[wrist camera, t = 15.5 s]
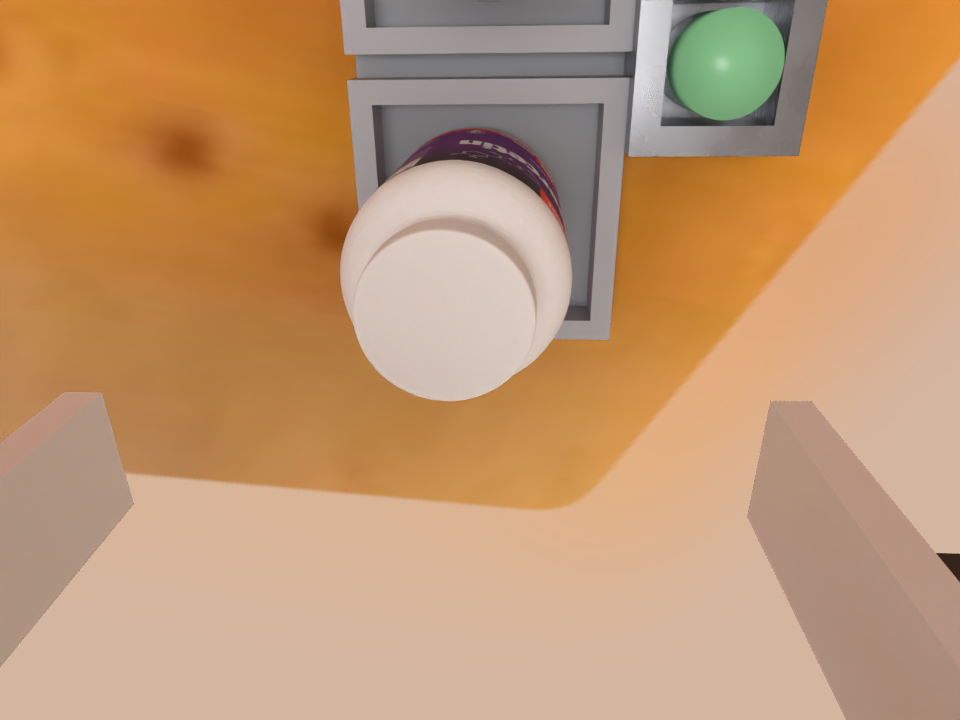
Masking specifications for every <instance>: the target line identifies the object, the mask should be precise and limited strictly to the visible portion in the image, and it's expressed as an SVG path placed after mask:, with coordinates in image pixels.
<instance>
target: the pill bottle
mask: <svg viewBox="0 0 960 720" xmlns="http://www.w3.org/2000/svg"><path fill="white" fill-rule="evenodd" d="M340 281H341V290H342V294H343V299H344V302H345V306H346V309H347V312H348V314H349V317H350V319H351V321H352V323H353V325H354V328H355V333H356V336H357V339H358V342H359V344H360V346H361V348H362V351H363V352H364V354H365V355H366V357H367V358H368V360H369V362H370V363H371V364H372V365H373V367H374V368H375V369H376V370H377V371H378V372H379V373H380V374H381V375H382V376H383V377H384V378H386V379H387V380H388V381H389V382H391V383H392V384H394V385H395V386H397V387H399V388H400V389H402V390H404V391H406V392H408V393H411V394H413V395H416V396H419V397H422V398H426V399H431V400H439V401H459V400H466V399H471V398H474V397H478V396H481V395H483V394H486V393H488V392H490V391H492V390H494V389H496V388H498V387H499V386H500V385H502V384H503V383H505V382H506V381H507V380H508V379H509V378H510V377H511V376H512V375H514V374H516V373H518V372H519V371H521V370H522V369H524V368H525V367H527V366H528V365H530V364H531V363H532V362H533V361H534V360H536V359H537V358H538V356H539V355H540V354H541V353H542V352H543V351H544V350H545V349H546V348H547V346H548V345H549V344H550V342H551V341H552V340H553V338H554V337H555V335H556V334H557V332H558V330H559V328H560V327H561V325H562V323H563V320H564V318H565V316H566V313H567V309H568V306H569V301H570V296H571V288H572V265H571V257H570V251H569V247H568V243H567V238H566V234H565V228H564V224H563V219H562V213H561V207H560V202H559V197H558V193H557V190H556V187H555V184H554V182H553V179H552V177H551V175H550V173H549V171H548V170H547V168H546V166H545V165H544V163H543V162H542V161H541V159H540V158H539V157H538V156H537V155H536V154H535V153H534V152H533V151H532V150H531V149H530V148H529V147H528V146H526V145H525V144H524V143H522V142H521V141H519V140H518V139H516V138H514V137H512V136H510V135H508V134H506V133H503V132H500V131H497V130H493V129H488V128H460V129H456V130H452V131H448V132H445V133H443V134H440V135H438V136H436V137H434V138H433V139H431V140H429V141H428V142H426V143H425V144H424V145H422V146H421V147H420V148H418V149H417V150H416V151H415V152H414V153H413V154H412V155H411V156H410V157H409V158H408V159H407V160H406V161H405V162H404V163H403V164H402V165H401V166H400V167H399V168H398V169H397V170H396V171H395V173H394V174H393V175H392V176H391V177H390V178H389V179H388V180H386V181H385V182H384V183H383V184H382V185H381V186H380V187H379V188H378V189H377V190H376V191H375V192H374V193H373V194H372V195H371V196H370V197H369V198H368V200H367V201H366V202H365V203H364V204H363V206H362V207H361V209H360V210H359V212H358V213H357V215H356V217H355V218H354V220H353V222H352V224H351V226H350V228H349V231H348V233H347V235H346V238H345V242H344V246H343V249H342V255H341V263H340Z"/></svg>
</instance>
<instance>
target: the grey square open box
mask: <svg viewBox="0 0 960 720" xmlns="http://www.w3.org/2000/svg"><path fill="white" fill-rule="evenodd" d="M827 1H828V0H636V7H635V20H634V33H633V45H632V51H631V52H625V58H624V72H623V75H624V76H626V77H629V78H630V84H629V96H628V109H627V122H626V134H625V147H624V152H625V153H626V154H627V155H628V157H648V156H799V151H800V146H801V140H802V135H803V130H804V124H805V119H806V114H807V108H808V103H809V98H810V92H811V87H812V82H813V76H814V71H815V66H816V60H817V55H818V50H819V44H820V39H821V34H822V28H823V23H824V18H825V12H826V7H827ZM734 7H746V8H751V9H754V10H757V11H759V12H761V13H763V14H765V15H766V16H767V17H768V18H770V19H771V20H772V21H773V23H774V24H775V25H776V27H777V28H778V30H779V32H780V34H781V36H782V40H783V43H784V50H785V60H784V67H783V71H782V75H781V77H780V80H779V82H778V84H777V86H776V88H775V90H774V91H773V93H772V94H771V95H770V97H769V98H768V99H767V100H766V101H765V102H764V103H763V104H762V105H761V106H760V107H758V108H757V109H756V110H754V111H753V112H751V113H749V114H747V115H745V116H743V117H740V118H737V119H732V120H714V119H710V118H707V117H704V116H702V115H699V114H697V113H695V112H692V111H690V110H687V109H685V108H683V107H681V106H679V105H677V104H676V103H674V102H673V101H672V100H671V99H670V98H669V97H668V95H667V94H666V93H665V91H664V85H665V75H666V65H667V55H668V45H669V35H670V33H671V32H672V31H673V30H674V28H675V27H676V26H677V25H679V24H680V23H681V22H682V21H684V20H685V19H687V18H688V17H690V16H692V15H695V14H697V13H701V12H706V11H713V10H720V9H726V8H734Z"/></svg>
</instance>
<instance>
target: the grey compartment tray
mask: <svg viewBox="0 0 960 720" xmlns="http://www.w3.org/2000/svg"><path fill="white" fill-rule="evenodd" d="M635 7H636V0H496V1H476V0H340V8H341V20H342V31H343V42H344V53H345V55H355V60H356V72H357V78H354V79H350V80H347V87H348V98H349V110H350V121H351V132H352V143H353V155H354V166H355V177H356V188H357V200H358V211H359V210H360V209H361V207H362V206H363V204H364V203H365V202H366V201H367V200H368V198H369V197H370V196H371V195H372V194H373V193H374V192H375V191H376V190H377V189H378V188H379V187H380V186H381V185H382V184H383V183H384V182H385V181H386V180H388V179H389V178H390V177H391V176H392V175H393V174H394V173H395V171H396V170H397V169H398V168H399V167H400V166H401V165H402V164H403V163H404V162H405V161H406V160H407V159H408V158H409V157H410V156H411V155H412V154H413V153H414V152H415V151H416V150H417V149H418V148H420V147H421V146H422V145H424V144H425V143H426V142H428V141H429V140H431V139H433V138H434V137H436V136H438V135H440V134H443V133H445V132H448V131H452V130H456V129H460V128H488V129H493V130H497V131H500V132H503V133H506V134H508V135H510V136H512V137H514V138H516V139H518V140H519V141H521V142H522V143H524V144H525V145H526V146H528V147H529V148H530V149H531V150H532V151H533V152H534V153H535V154H536V155H537V156H538V157H539V158H540V159H541V161H542V162H543V163H544V165H545V166H546V168H547V170H548V171H549V173H550V175H551V177H552V179H553V182H554V184H555V187H556V190H557V193H558V197H559V202H560V207H561V213H562V219H563V224H564V228H565V234H566V238H567V243H568V247H569V251H570V257H571V265H572V288H571V296H570V301H569V306H568V309H567V313H566V316H565V318H564V320H563V323H562V325H561V327H560V328H559V330H558V332H557V334H556V335H555V337H554V338H553V339H580V340H609V338H610V325H611V312H612V299H613V287H614V274H615V261H616V249H617V236H618V223H619V211H620V198H621V185H622V172H623V160H624V147H625V134H626V122H627V109H628V96H629V84H630V78H629V77H626V76H624V75H623V72H624V58H625V52H631V51H632V45H633V33H634V20H635Z"/></svg>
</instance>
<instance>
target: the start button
mask: <svg viewBox="0 0 960 720" xmlns="http://www.w3.org/2000/svg"><path fill="white" fill-rule="evenodd" d="M784 60H785V50H784V43H783V40H782V36H781V34H780V32H779V30H778V28H777V27H776V25H775V24H774V23H773V21H772V20H771V19H770V18H768V17H767V16H766V15H765V14H763V13H761V12H759V11H757V10H754V9H751V8H746V7H734V8H726V9H720V10H713V11H706V12H701V13H697V14H695V15H692V16H690V17H688V18H687V19H685V20H684V21H682V22H681V23H680V24H679V25H677V26H676V27H675V28H674V30H673V31H672V32H671V33H670V35H669V45H668V55H667V65H666V75H665V85H664V91H665V93H666V94H667V95H668V97H669V98H670V99H671V100H672V101H673V102H674V103H676V104H677V105H679V106H681V107H683V108H685V109H687V110H690V111H692V112H695V113H697V114H699V115H702V116H704V117H707V118H710V119H714V120H732V119H737V118H740V117H743V116H745V115H747V114H749V113H751V112H753V111H754V110H756V109H757V108H758V107H760V106H761V105H762V104H763V103H764V102H765V101H766V100H767V99H768V98H769V97H770V95H771V94H772V93H773V91H774V90H775V88H776V86H777V84H778V82H779V80H780V77H781V75H782V71H783V67H784Z"/></svg>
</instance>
